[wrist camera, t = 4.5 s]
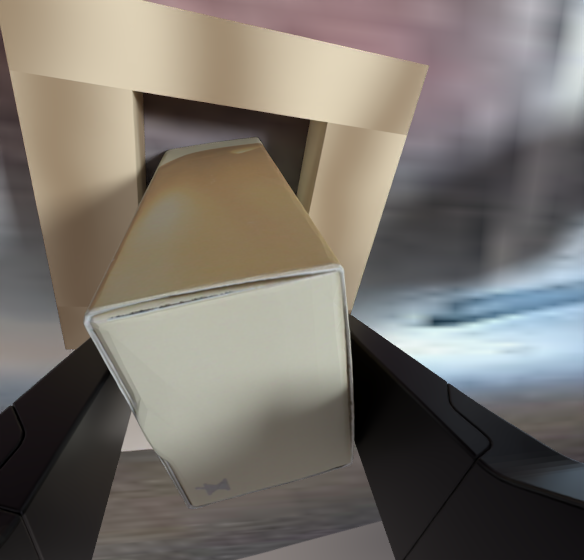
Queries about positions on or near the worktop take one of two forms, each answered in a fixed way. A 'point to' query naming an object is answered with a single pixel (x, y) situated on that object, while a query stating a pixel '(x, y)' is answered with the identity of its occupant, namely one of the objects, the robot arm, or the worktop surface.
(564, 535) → the robot arm
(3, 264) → the worktop surface
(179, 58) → the frame
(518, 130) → the worktop surface
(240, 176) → the skincare box
